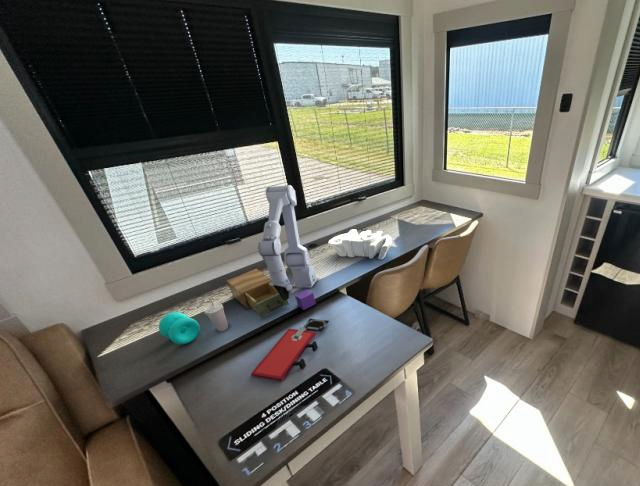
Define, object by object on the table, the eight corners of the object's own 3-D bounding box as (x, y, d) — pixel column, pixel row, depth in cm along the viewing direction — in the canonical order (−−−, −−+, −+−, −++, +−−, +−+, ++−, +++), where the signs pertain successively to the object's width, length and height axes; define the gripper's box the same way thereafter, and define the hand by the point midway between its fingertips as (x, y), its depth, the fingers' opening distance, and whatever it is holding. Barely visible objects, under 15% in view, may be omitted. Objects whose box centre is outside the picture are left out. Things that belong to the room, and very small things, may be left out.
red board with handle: (334, 323, 120) (299, 319, 124) (332, 317, 118) (297, 313, 122) (293, 384, 96) (252, 376, 100) (290, 377, 95) (249, 370, 99)
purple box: (315, 303, 132) (313, 292, 129) (303, 310, 129) (300, 299, 126) (310, 300, 135) (307, 289, 132) (297, 306, 132) (294, 295, 128)
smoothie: (235, 324, 123) (222, 294, 116) (223, 334, 119) (208, 304, 111) (222, 321, 125) (208, 292, 117) (210, 332, 120) (194, 302, 113)
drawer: (294, 308, 129) (290, 295, 125) (265, 322, 122) (260, 309, 118) (272, 292, 140) (268, 280, 137) (245, 304, 133) (240, 292, 130)
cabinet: (277, 295, 140) (272, 279, 135) (247, 309, 132) (240, 292, 127) (261, 283, 149) (256, 268, 145) (233, 295, 141) (226, 280, 137)
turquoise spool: (179, 350, 112) (165, 329, 107) (165, 341, 117) (151, 320, 111) (205, 334, 119) (194, 313, 114) (191, 326, 124) (180, 306, 118)
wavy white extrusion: (399, 249, 171) (397, 231, 165) (388, 263, 158) (386, 244, 153) (342, 244, 182) (338, 227, 176) (327, 257, 169) (323, 238, 163)
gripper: (258, 267, 122) (268, 296, 130) (275, 279, 113) (285, 310, 121) (275, 261, 126) (284, 289, 134) (293, 272, 117) (301, 302, 125)
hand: (285, 299), depth 128 cm, fingers closed
